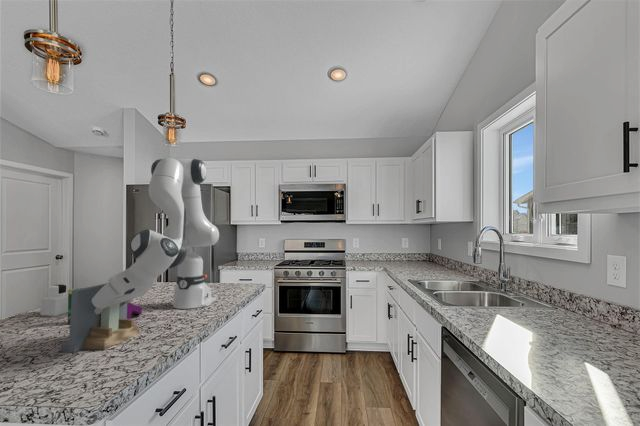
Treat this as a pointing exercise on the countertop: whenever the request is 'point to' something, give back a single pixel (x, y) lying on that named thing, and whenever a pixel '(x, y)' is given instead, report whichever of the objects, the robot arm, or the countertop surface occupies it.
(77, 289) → the coffee box
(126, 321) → the cleat ledge
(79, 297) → the wall board
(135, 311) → the mounting bracket
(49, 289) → the medicine bottle
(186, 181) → the robot arm
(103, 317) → the cabinet block
